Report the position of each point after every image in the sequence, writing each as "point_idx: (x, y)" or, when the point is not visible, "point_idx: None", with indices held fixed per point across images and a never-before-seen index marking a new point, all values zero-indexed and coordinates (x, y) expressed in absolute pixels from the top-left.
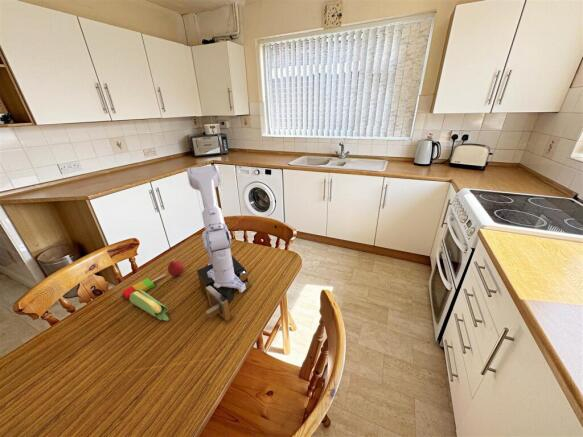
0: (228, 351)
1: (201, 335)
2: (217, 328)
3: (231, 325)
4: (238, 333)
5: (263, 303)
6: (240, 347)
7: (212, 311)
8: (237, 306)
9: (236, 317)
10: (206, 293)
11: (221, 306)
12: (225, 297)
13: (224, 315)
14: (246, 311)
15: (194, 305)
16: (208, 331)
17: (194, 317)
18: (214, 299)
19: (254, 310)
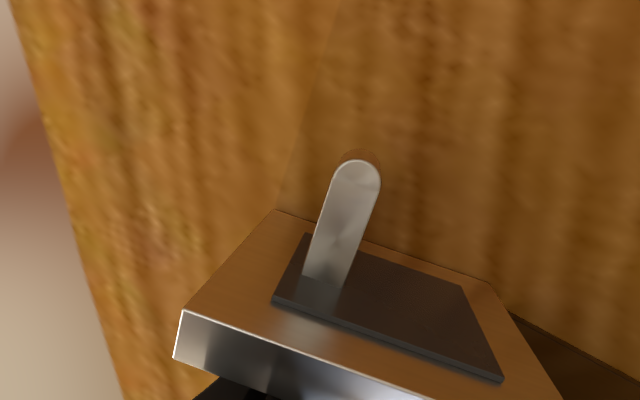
0: (103, 20)
1: (358, 35)
2: (291, 136)
3: (224, 192)
4: (145, 158)
5: (169, 384)
6: (66, 79)
7: (324, 200)
8: None
9: None
10: (588, 371)
11: (265, 275)
12: None
13: (272, 228)
14: None
15: (625, 245)
16: (333, 88)
17: (537, 148)
18: (376, 327)
19: None
